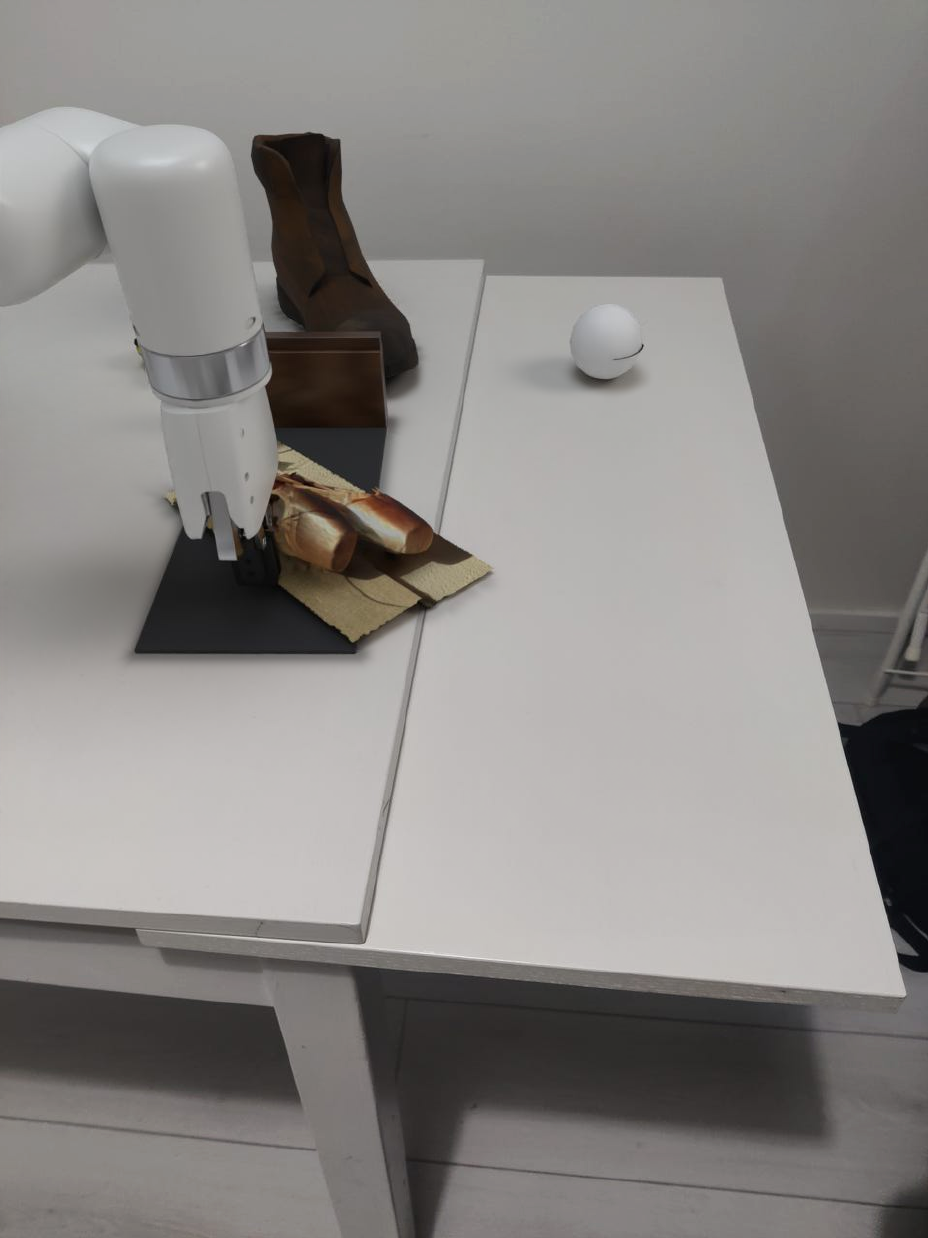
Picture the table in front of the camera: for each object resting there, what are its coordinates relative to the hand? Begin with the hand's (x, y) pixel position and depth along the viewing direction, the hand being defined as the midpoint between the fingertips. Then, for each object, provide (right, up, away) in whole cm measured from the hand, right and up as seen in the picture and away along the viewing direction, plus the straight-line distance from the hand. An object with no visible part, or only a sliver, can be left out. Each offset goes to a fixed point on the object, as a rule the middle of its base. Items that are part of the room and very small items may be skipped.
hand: (259, 578), depth 67 cm
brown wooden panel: (0, +16, +18) cm, 24 cm away
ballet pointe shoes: (+3, +4, +6) cm, 8 cm away
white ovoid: (+31, +23, +25) cm, 46 cm away
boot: (+2, +28, +31) cm, 42 cm away
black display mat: (0, +5, +7) cm, 8 cm away
